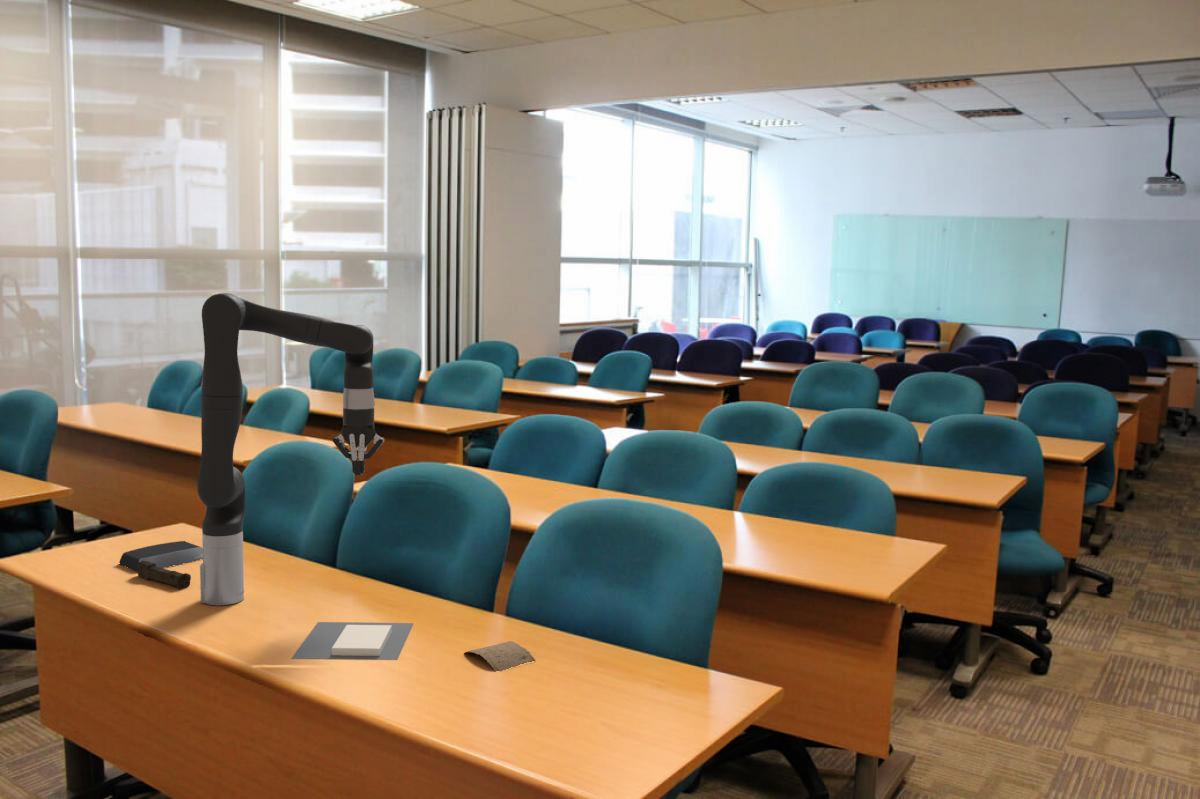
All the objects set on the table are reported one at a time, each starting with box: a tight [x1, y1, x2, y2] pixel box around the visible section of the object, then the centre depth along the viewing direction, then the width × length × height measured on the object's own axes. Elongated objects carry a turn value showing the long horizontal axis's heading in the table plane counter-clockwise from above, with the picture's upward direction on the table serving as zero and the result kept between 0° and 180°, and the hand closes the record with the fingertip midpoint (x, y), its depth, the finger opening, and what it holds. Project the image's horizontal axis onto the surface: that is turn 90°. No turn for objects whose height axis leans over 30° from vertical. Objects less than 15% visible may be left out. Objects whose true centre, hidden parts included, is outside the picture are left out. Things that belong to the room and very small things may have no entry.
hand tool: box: [136, 561, 192, 590], centre depth 249 cm, size 19×4×5 cm, turn 58°
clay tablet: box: [464, 640, 536, 672], centre depth 204 cm, size 14×10×3 cm
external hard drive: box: [118, 540, 203, 573], centre depth 267 cm, size 13×19×4 cm
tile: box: [332, 625, 392, 656], centre depth 208 cm, size 10×2×14 cm
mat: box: [290, 621, 414, 661], centre depth 210 cm, size 22×22×1 cm
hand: (358, 474), depth 238 cm, fingers closed
